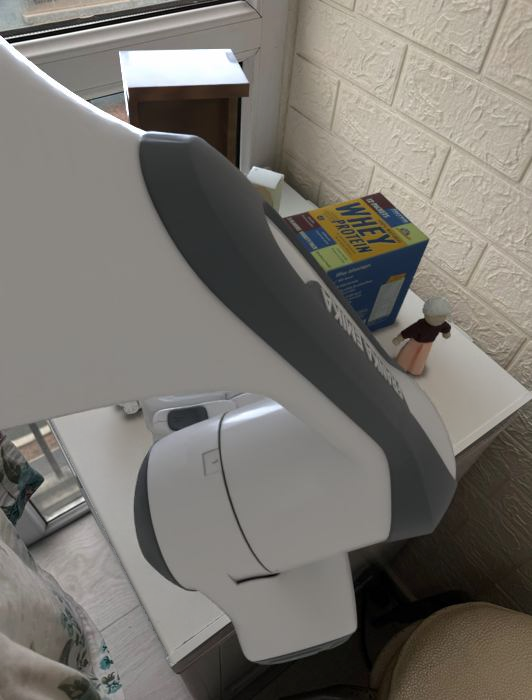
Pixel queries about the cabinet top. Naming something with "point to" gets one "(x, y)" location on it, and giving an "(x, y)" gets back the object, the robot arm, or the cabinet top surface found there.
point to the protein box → (364, 253)
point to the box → (267, 184)
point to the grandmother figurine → (423, 335)
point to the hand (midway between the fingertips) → (237, 315)
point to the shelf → (185, 93)
